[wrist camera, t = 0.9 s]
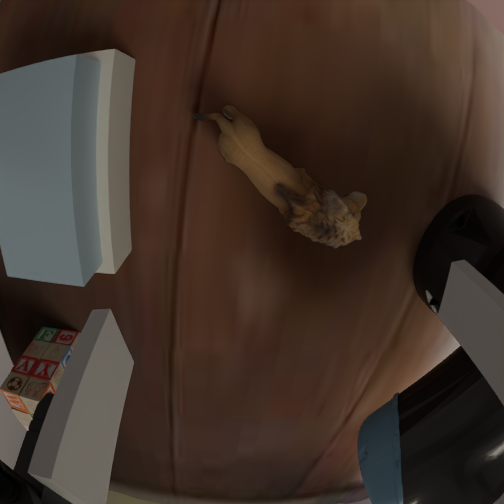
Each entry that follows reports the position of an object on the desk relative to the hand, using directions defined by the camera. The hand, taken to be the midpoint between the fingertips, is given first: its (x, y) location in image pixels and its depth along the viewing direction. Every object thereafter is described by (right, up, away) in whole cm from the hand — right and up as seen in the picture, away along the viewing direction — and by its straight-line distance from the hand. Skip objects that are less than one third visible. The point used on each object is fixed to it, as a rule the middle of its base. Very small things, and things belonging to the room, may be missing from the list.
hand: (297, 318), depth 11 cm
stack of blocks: (-26, -17, +26) cm, 41 cm away
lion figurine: (0, +10, +15) cm, 19 cm away
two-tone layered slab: (-17, +11, +14) cm, 25 cm away
